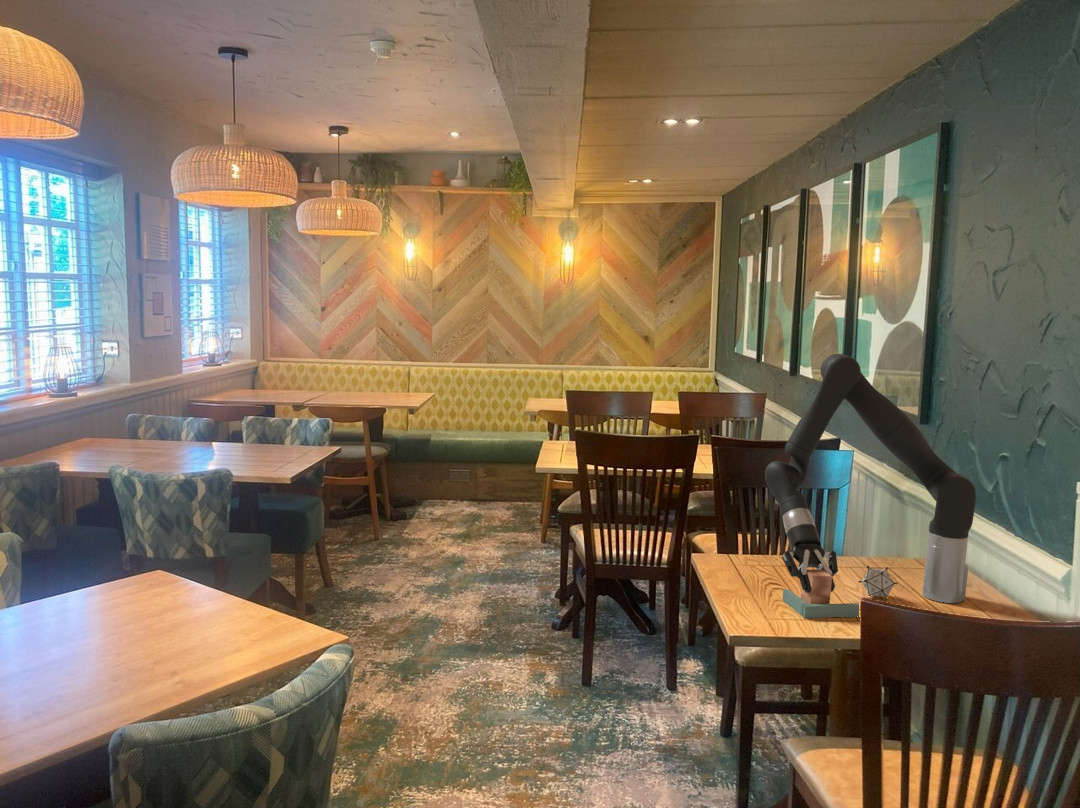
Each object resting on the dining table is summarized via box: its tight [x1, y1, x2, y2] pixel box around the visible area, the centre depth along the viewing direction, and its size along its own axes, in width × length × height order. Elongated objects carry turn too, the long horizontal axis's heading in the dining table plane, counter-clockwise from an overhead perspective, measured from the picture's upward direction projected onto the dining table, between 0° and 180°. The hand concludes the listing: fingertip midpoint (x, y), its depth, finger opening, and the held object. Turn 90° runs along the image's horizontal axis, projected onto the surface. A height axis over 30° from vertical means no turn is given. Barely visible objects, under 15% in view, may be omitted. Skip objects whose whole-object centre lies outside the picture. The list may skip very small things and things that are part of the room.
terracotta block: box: [800, 569, 833, 604], centre depth 195 cm, size 5×5×9 cm
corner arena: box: [782, 588, 860, 619], centre depth 197 cm, size 16×12×3 cm
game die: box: [857, 565, 899, 598], centre depth 207 cm, size 9×8×10 cm
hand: (820, 590), depth 194 cm, fingers open, 5 cm apart
